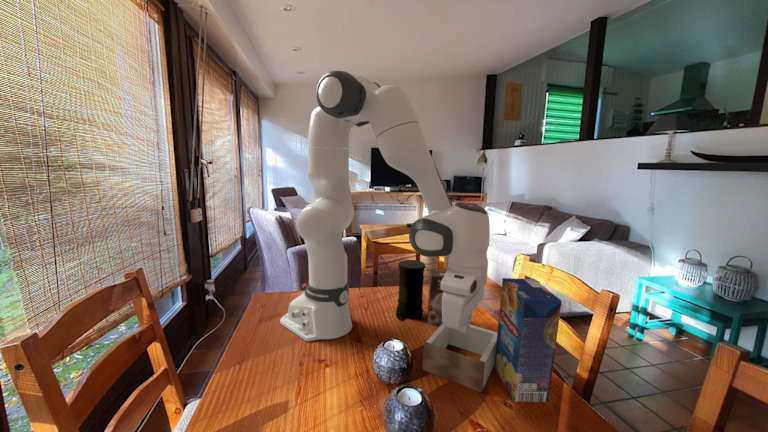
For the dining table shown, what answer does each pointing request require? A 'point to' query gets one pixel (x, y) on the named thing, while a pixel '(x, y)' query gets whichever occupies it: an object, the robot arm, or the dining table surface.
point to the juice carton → (526, 339)
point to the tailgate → (453, 366)
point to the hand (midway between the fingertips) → (464, 329)
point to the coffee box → (435, 297)
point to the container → (410, 290)
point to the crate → (469, 343)
